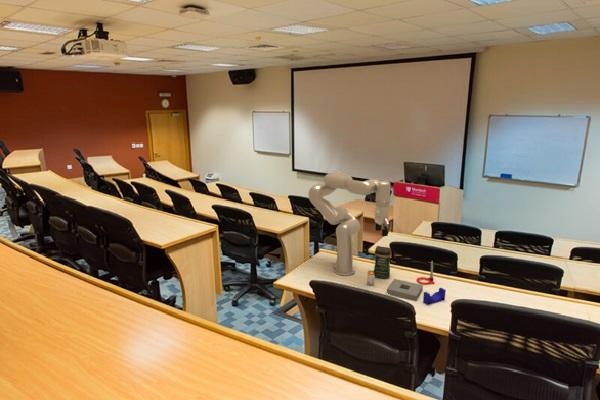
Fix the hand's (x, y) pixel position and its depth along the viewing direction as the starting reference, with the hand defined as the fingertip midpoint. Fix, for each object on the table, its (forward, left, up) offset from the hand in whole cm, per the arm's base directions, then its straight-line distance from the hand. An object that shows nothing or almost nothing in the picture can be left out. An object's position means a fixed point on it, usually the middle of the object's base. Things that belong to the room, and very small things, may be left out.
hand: (381, 233), depth 208 cm
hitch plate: (+16, -5, -30) cm, 34 cm away
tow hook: (+23, +13, -30) cm, 40 cm away
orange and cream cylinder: (-3, -6, -30) cm, 31 cm away
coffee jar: (-1, +8, -30) cm, 31 cm away
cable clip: (+31, -7, -30) cm, 44 cm away
